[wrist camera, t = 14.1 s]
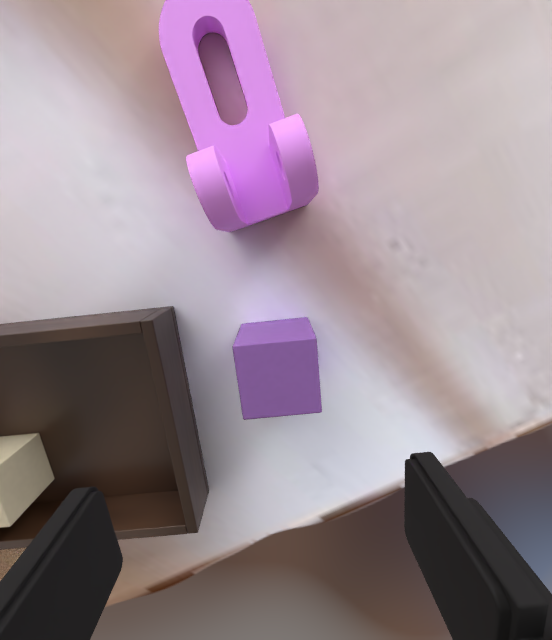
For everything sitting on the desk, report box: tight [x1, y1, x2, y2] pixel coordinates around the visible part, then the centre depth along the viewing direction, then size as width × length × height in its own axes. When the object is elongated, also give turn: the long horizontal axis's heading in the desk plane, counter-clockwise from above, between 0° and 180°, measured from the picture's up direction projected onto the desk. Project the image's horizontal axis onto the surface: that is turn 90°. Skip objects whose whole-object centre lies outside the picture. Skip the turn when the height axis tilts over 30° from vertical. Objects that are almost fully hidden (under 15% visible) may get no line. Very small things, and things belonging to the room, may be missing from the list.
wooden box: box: [0, 306, 209, 550], centre depth 23 cm, size 20×17×4 cm
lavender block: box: [233, 317, 322, 420], centre depth 21 cm, size 5×5×5 cm
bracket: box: [159, 0, 318, 232], centre depth 16 cm, size 13×6×7 cm, turn 19°
